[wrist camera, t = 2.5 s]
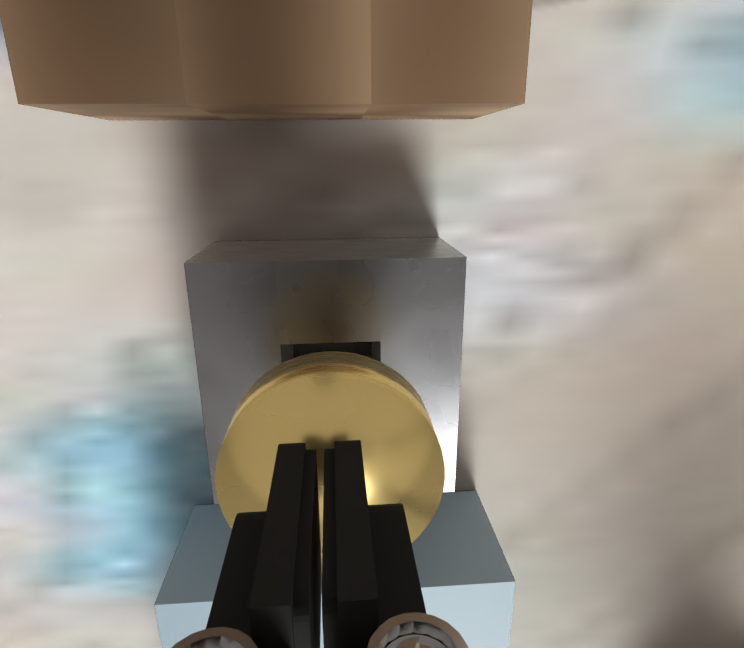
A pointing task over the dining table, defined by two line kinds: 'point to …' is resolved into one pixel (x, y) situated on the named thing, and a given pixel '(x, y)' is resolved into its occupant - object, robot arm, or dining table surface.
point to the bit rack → (433, 561)
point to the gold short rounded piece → (334, 434)
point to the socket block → (269, 58)
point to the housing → (328, 318)
